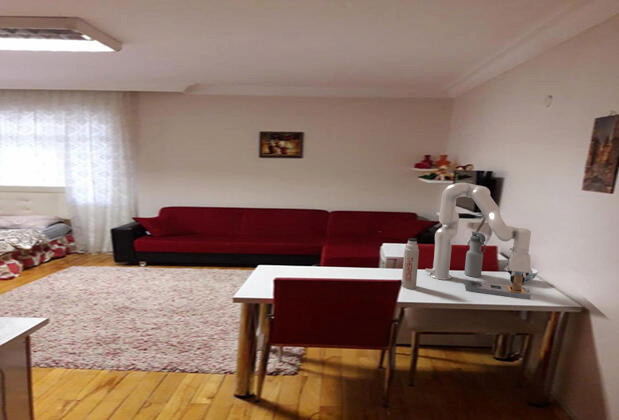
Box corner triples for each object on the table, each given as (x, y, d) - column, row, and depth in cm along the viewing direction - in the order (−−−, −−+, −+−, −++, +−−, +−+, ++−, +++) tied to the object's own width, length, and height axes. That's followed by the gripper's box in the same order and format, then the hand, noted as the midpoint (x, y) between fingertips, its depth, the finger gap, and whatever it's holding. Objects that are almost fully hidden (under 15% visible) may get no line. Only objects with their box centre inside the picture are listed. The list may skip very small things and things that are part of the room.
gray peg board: (465, 290, 204) (466, 286, 204) (464, 283, 216) (464, 279, 215) (530, 299, 195) (530, 294, 194) (524, 291, 206) (525, 287, 206)
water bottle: (484, 276, 230) (489, 233, 226) (474, 278, 226) (478, 234, 221) (471, 271, 239) (475, 230, 235) (460, 273, 235) (465, 231, 230)
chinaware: (534, 287, 214) (536, 274, 212) (506, 281, 222) (507, 269, 221) (537, 281, 225) (539, 269, 224) (510, 275, 234) (511, 264, 233)
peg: (512, 289, 200) (514, 275, 199) (511, 287, 204) (512, 273, 203) (521, 290, 199) (522, 276, 198) (519, 288, 203) (521, 274, 202)
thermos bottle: (411, 290, 202) (415, 241, 198) (399, 286, 208) (402, 238, 203) (418, 286, 208) (422, 239, 204) (405, 283, 213) (409, 236, 209)
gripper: (505, 250, 197) (501, 283, 200) (540, 254, 192) (535, 287, 195) (502, 247, 204) (498, 278, 207) (536, 250, 199) (532, 282, 202)
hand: (516, 282), depth 201 cm, fingers closed on peg, 4 cm apart
